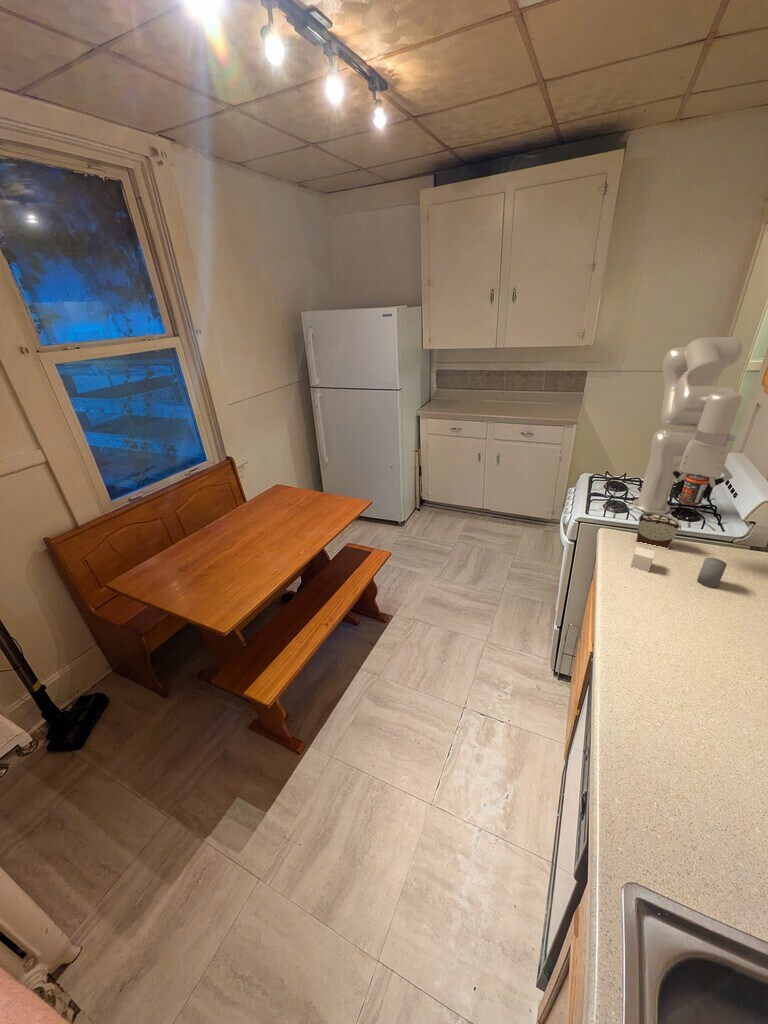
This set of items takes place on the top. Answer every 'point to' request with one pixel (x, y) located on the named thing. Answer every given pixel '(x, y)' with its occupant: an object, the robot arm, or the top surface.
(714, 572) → the gray cylinder
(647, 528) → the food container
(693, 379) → the robot arm
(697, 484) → the supplement bottle
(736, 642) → the top surface
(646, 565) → the off-white block
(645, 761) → the top surface
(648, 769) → the top surface
